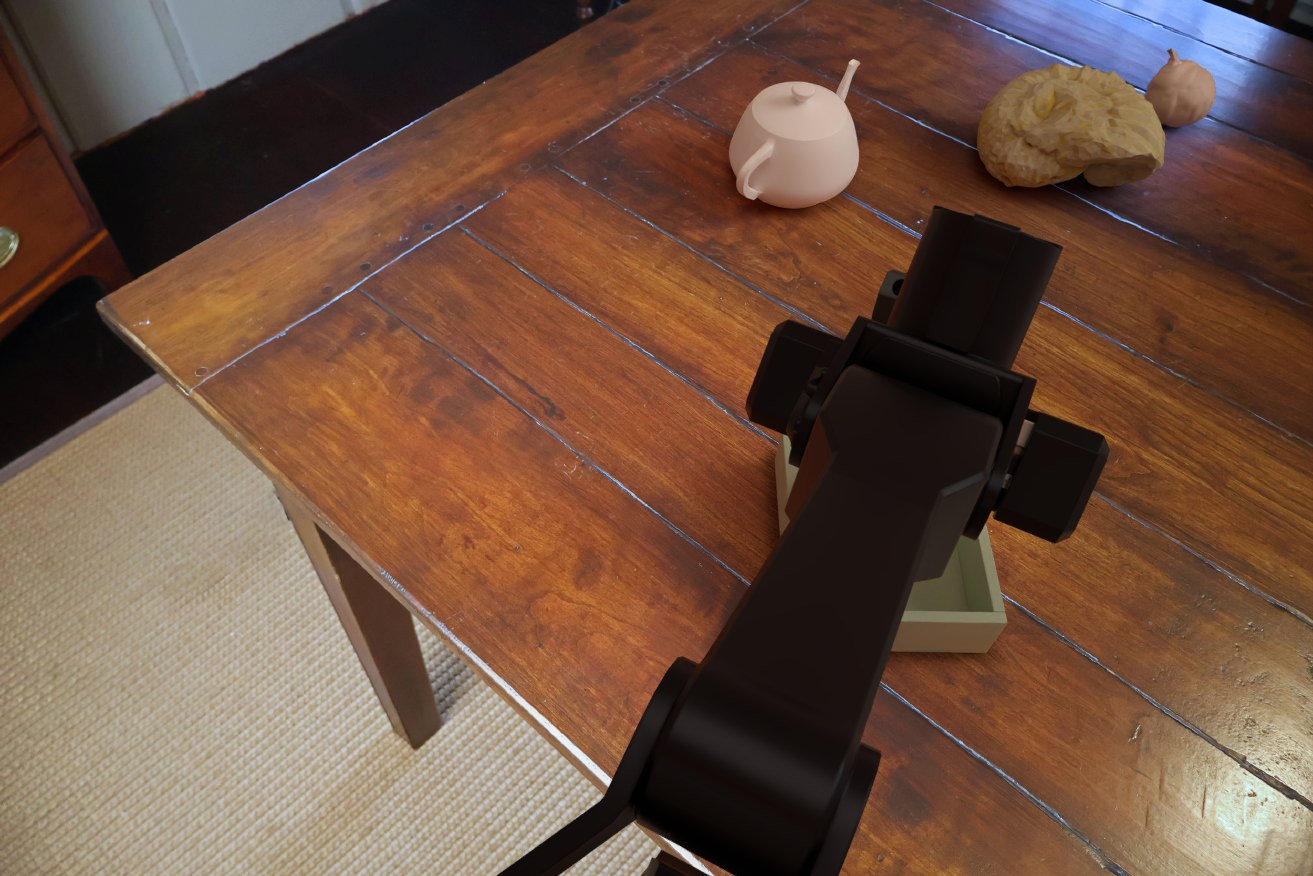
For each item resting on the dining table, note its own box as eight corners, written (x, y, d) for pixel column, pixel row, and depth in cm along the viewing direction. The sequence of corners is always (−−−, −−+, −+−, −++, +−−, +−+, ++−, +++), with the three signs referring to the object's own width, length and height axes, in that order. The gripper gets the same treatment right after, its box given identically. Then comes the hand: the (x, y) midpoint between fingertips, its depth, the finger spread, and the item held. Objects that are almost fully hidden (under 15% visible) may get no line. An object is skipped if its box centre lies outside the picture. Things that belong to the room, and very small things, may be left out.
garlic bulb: (1153, 94, 104) (1187, 25, 97) (1209, 120, 101) (1248, 51, 95) (1123, 121, 101) (1156, 51, 94) (1180, 148, 98) (1218, 79, 92)
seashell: (1032, 129, 104) (935, 146, 96) (1084, 33, 96) (983, 43, 89) (1152, 221, 95) (1055, 248, 88) (1220, 123, 88) (1120, 143, 80)
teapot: (794, 103, 102) (808, 13, 93) (897, 150, 97) (921, 59, 89) (681, 202, 92) (685, 112, 84) (790, 259, 88) (805, 169, 80)
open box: (986, 653, 66) (1008, 623, 62) (788, 649, 66) (797, 619, 62) (948, 464, 75) (965, 428, 71) (774, 461, 75) (782, 424, 71)
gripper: (1184, 348, 42) (1128, 349, 57) (791, 214, 47) (833, 247, 62) (1079, 575, 44) (1051, 519, 59) (712, 425, 49) (771, 408, 64)
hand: (924, 417), depth 61 cm, fingers closed on pill bottle, 6 cm apart
